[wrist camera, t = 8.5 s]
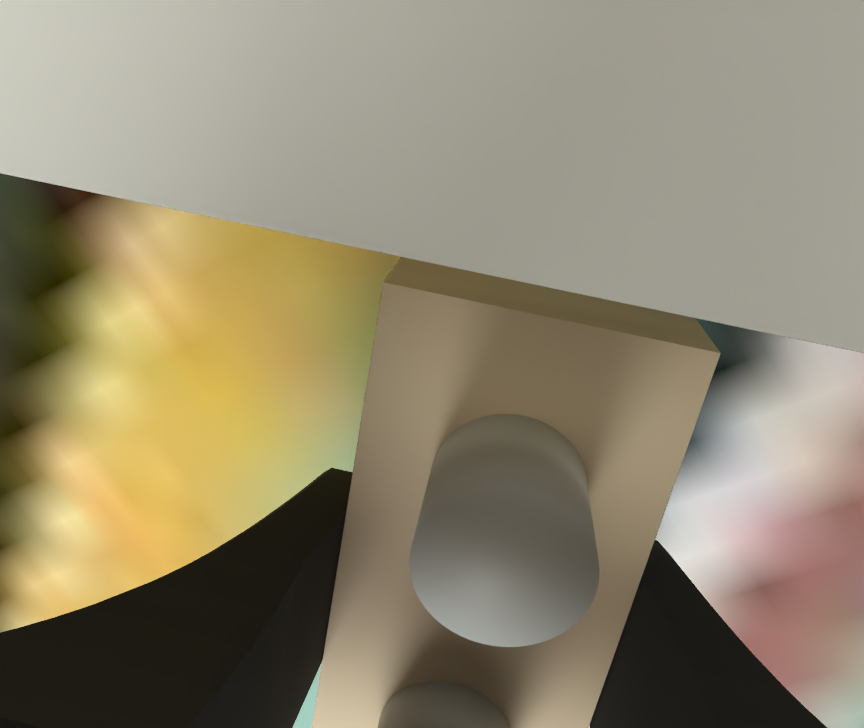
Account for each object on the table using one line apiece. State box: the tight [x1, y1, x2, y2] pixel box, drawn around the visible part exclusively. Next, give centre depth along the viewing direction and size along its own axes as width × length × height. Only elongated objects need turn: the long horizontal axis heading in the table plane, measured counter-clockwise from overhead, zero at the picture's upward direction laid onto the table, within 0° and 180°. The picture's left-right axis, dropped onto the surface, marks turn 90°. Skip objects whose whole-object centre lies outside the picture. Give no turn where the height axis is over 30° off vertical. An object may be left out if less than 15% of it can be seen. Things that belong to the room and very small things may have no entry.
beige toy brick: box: [312, 257, 721, 728], centre depth 11 cm, size 9×4×5 cm, turn 170°
